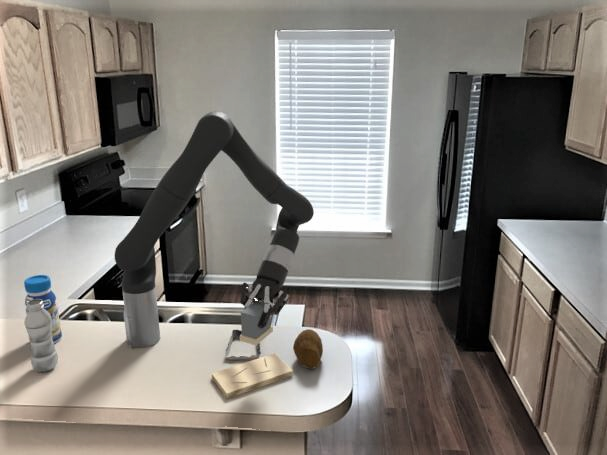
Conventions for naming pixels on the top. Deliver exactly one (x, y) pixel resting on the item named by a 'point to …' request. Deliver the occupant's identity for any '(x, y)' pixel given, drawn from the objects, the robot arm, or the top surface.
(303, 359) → the potato
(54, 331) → the beverage bottle
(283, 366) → the pine board
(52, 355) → the plastic bottle
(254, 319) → the sanding block
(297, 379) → the top surface
